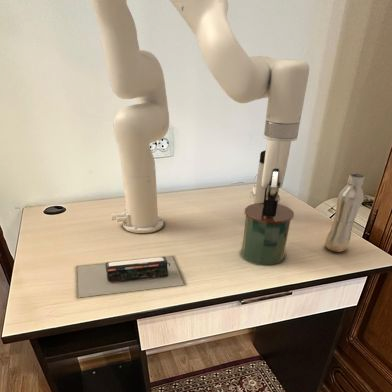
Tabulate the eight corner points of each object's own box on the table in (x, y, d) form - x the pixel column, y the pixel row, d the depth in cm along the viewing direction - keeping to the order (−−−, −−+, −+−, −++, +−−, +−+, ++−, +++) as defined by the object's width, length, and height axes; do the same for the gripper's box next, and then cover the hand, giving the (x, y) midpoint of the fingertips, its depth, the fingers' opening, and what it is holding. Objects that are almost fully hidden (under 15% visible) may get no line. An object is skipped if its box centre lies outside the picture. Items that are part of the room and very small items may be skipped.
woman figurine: (260, 196, 122) (240, 183, 136) (259, 210, 125) (240, 196, 139) (291, 194, 125) (269, 181, 139) (289, 207, 128) (267, 193, 141)
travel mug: (273, 220, 119) (284, 152, 106) (253, 219, 119) (261, 152, 106) (270, 212, 124) (281, 147, 111) (251, 212, 124) (259, 146, 111)
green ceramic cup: (249, 267, 96) (255, 224, 88) (236, 247, 104) (240, 207, 97) (290, 262, 98) (299, 221, 90) (273, 243, 106) (280, 204, 99)
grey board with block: (183, 284, 89) (183, 269, 86) (78, 297, 84) (74, 281, 81) (172, 257, 99) (171, 242, 96) (77, 266, 94) (74, 251, 91)
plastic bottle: (347, 246, 106) (370, 173, 93) (346, 256, 101) (370, 181, 88) (324, 242, 108) (344, 170, 94) (322, 252, 103) (343, 177, 90)
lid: (254, 228, 88) (257, 204, 84) (237, 208, 97) (239, 186, 94) (301, 224, 91) (306, 200, 87) (281, 205, 100) (285, 183, 96)
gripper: (265, 121, 88) (256, 196, 100) (263, 138, 75) (252, 222, 87) (296, 123, 87) (283, 199, 99) (300, 140, 74) (284, 224, 86)
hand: (269, 209), depth 93 cm, fingers open, 7 cm apart
